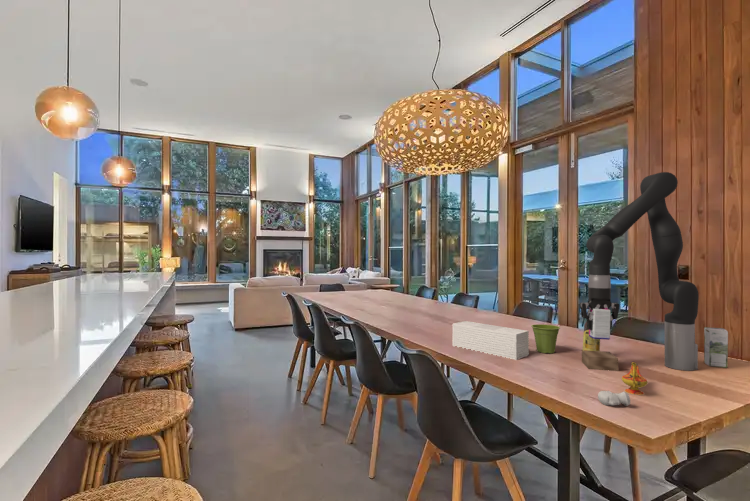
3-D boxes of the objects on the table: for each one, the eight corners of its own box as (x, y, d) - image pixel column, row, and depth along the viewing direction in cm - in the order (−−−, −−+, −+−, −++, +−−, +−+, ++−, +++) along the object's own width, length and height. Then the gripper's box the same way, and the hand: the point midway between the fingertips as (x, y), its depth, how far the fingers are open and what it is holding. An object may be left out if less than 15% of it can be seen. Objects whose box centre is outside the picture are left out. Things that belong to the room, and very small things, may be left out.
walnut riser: (609, 364, 155) (609, 351, 155) (618, 371, 145) (618, 358, 145) (581, 362, 157) (581, 350, 157) (588, 369, 148) (588, 356, 148)
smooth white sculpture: (598, 409, 113) (597, 398, 118) (631, 413, 110) (628, 402, 114) (598, 396, 112) (597, 385, 116) (631, 400, 108) (629, 389, 113)
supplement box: (610, 339, 148) (610, 309, 148) (593, 339, 149) (593, 309, 149) (604, 336, 153) (605, 307, 153) (588, 335, 154) (588, 307, 155)
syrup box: (722, 364, 154) (722, 327, 154) (728, 368, 148) (728, 330, 148) (703, 362, 156) (703, 326, 156) (709, 366, 151) (709, 329, 151)
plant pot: (561, 350, 175) (561, 325, 175) (558, 356, 165) (558, 330, 165) (533, 347, 181) (533, 323, 181) (528, 352, 171) (528, 327, 171)
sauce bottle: (583, 358, 162) (583, 310, 162) (581, 354, 168) (581, 308, 168) (601, 360, 160) (601, 311, 160) (599, 356, 165) (599, 309, 166)
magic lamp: (647, 384, 130) (647, 351, 130) (647, 401, 115) (647, 364, 115) (623, 380, 134) (623, 348, 134) (620, 396, 119) (620, 360, 119)
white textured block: (452, 346, 184) (452, 323, 184) (465, 342, 191) (465, 320, 191) (516, 360, 160) (516, 334, 160) (528, 355, 167) (528, 330, 167)
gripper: (613, 285, 154) (613, 328, 154) (576, 285, 156) (575, 327, 155) (624, 287, 147) (624, 332, 147) (584, 287, 148) (584, 331, 148)
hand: (599, 329), depth 151 cm, fingers closed on supplement box, 6 cm apart
